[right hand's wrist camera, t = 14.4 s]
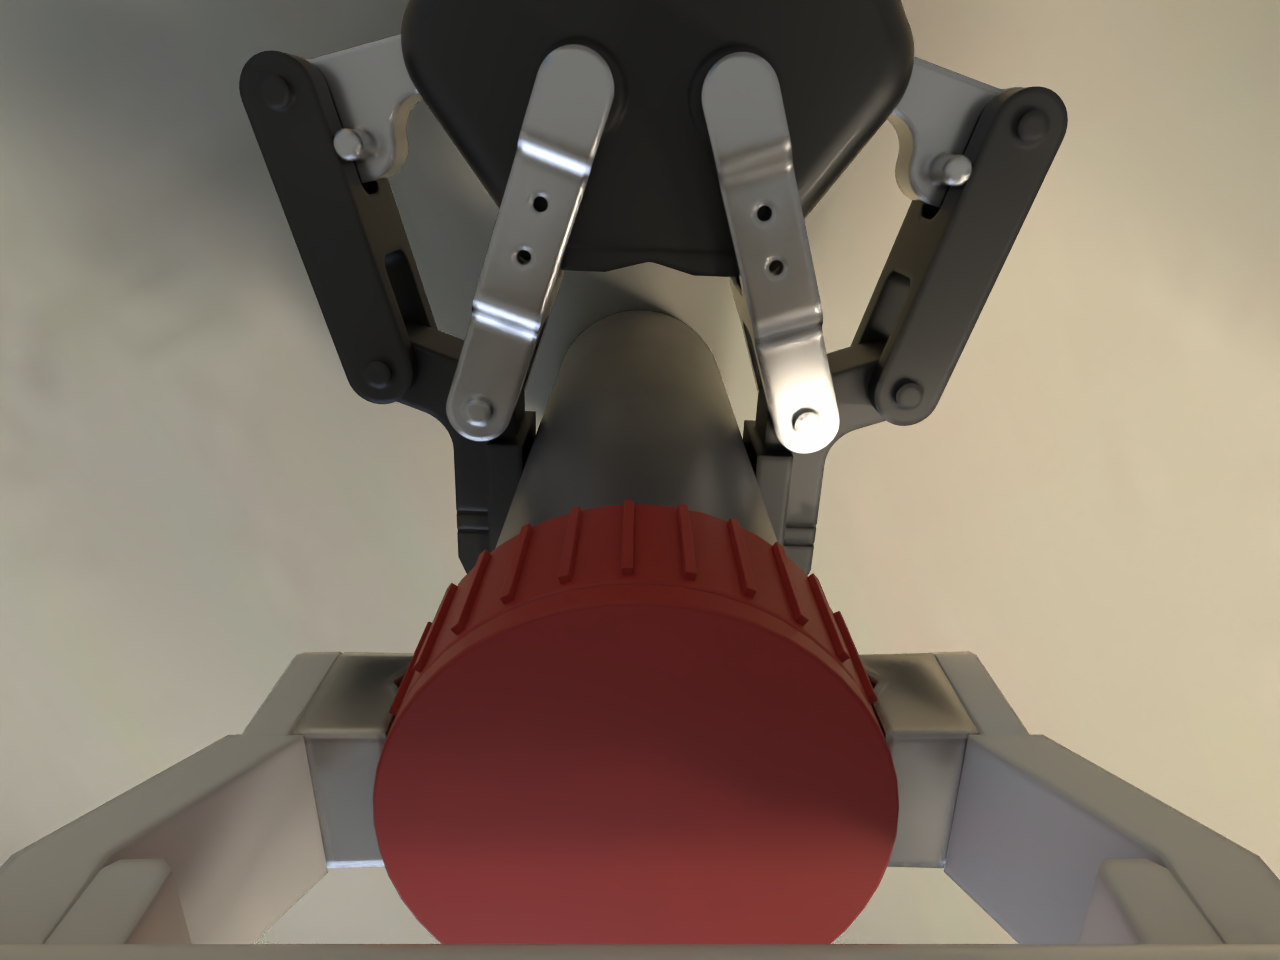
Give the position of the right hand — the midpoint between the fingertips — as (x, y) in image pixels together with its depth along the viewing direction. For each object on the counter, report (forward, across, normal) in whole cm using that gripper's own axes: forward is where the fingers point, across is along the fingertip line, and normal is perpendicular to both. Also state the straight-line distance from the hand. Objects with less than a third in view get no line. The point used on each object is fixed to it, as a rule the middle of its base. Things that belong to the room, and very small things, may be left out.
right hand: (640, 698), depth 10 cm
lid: (-2, 0, 0) cm, 2 cm away
